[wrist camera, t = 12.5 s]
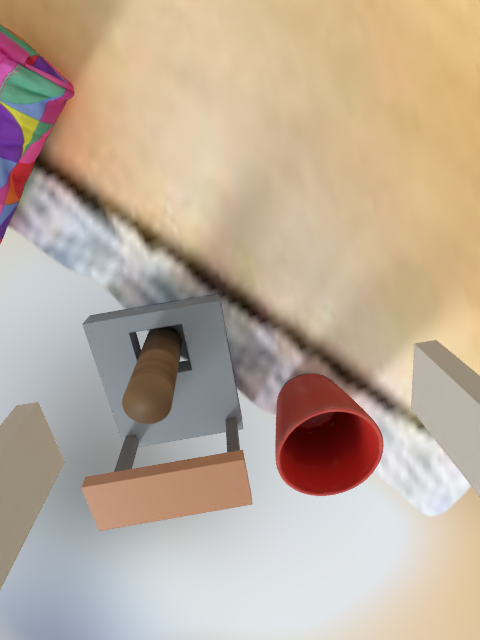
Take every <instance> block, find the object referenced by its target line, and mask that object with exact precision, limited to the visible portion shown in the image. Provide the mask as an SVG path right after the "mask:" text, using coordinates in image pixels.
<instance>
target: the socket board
mask: <svg viewBox="0 0 480 640" xmlns="http://www.w3.org/2000/svg"><path fill="white" fill-rule="evenodd" d="M178 324H182V328H183V332H184V336H185V341H186V345H187V349H188V353H189V358H190V360H188V361H182V362H179V367H178V373H177V379H176V384H175V390H174V396H173V402H172V407H171V411H170V413H169V414H168V416H167V417H166V418H165V419H163V420H162V421H160V422H157V423H154V424H142V423H139V422H136V421H134V420H132V419H131V418H129V417H128V416H127V414H126V413H125V411H124V409H123V406H122V398H123V395H124V393H125V390H126V388H127V385H128V383H129V380H130V378H131V375H132V373H133V370H134V368H135V365H136V363H137V360H138V358H139V355H140V353H141V349H140V345H139V342H138V338H137V334H136V332H137V331H142V330H149V329H155V328H160V327H166V326H172V325H178ZM83 328H84V330H85V333H86V336H87V339H88V342H89V345H90V348H91V351H92V354H93V357H94V360H95V363H96V366H97V369H98V372H99V375H100V377H101V381H102V383H103V386H104V389H105V392H106V395H107V398H108V401H109V404H110V407H111V410H112V413H113V416H114V419H115V422H116V425H117V428H118V431H119V433H120V436H121V439H122V442H123V447H122V449H121V453H120V456H119V459H118V462H117V465H116V468H115V471H114V472H112V473H107V474H101V475H95V476H89V477H86V478H85V480H84V482H83V485H82V487H81V489H82V491H83V493H84V496H85V498H86V501H87V503H88V505H89V508H90V510H91V513H92V515H93V517H94V520H95V522H96V525H97V527H98V530H99V531H102V530H108V529H113V528H120V527H125V526H131V525H136V524H142V523H148V522H153V521H160V520H165V519H171V518H177V517H183V516H188V515H194V514H199V513H205V512H211V511H217V510H222V509H229V508H234V507H240V506H245V505H252V497H251V491H250V486H249V480H248V475H247V469H246V465H245V459H244V454H243V450H240V447H239V437H238V430H240V429H243V423H242V416H241V410H240V404H239V399H238V393H237V388H236V383H235V377H234V372H233V366H232V361H231V355H230V350H229V345H228V339H227V334H226V328H225V323H224V317H223V312H222V307H221V301H220V296H219V294H214V295H208V296H202V297H196V298H190V299H184V300H179V301H173V302H167V303H161V304H155V305H149V306H143V307H137V308H131V309H125V310H119V311H114V312H108V313H102V314H96V315H90V316H89V317H88V318H87V320H86V321H85V322H84V323H83ZM222 432H226V437H227V453H222V454H216V455H210V456H205V457H199V458H193V459H187V460H182V461H176V462H170V463H164V464H159V465H153V466H147V467H141V468H136V469H132V466H133V462H134V458H135V455H136V451H137V448H138V447H141V446H147V445H153V444H159V443H164V442H170V441H176V440H182V439H188V438H193V437H199V436H205V435H211V434H217V433H222Z"/></svg>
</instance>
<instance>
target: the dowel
mask: <svg viewBox="0 0 480 640" xmlns="http://www.w3.org/2000/svg"><path fill="white" fill-rule="evenodd" d="M181 350H182V337H181V335H180V333H179V332H178V331H177V330H176V329H174V328H172V327H170V326H166V327H160V328H155V329H152V330H151V331H150V332H149V333H148V335H147V338H146V340H145V343H144V345H143V348H142V350H141V353H140V355H139V358H138V360H137V363H136V365H135V368H134V370H133V373H132V375H131V378H130V380H129V383H128V385H127V388H126V390H125V393H124V395H123V398H122V406H123V409H124V411H125V413H126V414H127V416H128V417H129V418H131V419H132V420H134V421H136V422H139V423H142V424H154V423H157V422H160V421H162V420H163V419H165V418H166V417H167V416H168V414H169V413H170V411H171V407H172V402H173V396H174V390H175V384H176V379H177V373H178V367H179V360H180V355H181Z"/></svg>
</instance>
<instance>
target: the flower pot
mask: <svg viewBox="0 0 480 640" xmlns="http://www.w3.org/2000/svg"><path fill="white" fill-rule="evenodd" d="M382 453H383V437H382V434H381V431H380V429H379V427H378V426H377V424H376V423H375V422H374V420H373V419H372V418H371V417H370V416H369V415H368V414H367V413H366V412H365V411H364V410H363V409H362V408H361V407H360V406H359V405H358V404H357V403H356V402H355V401H354V400H353V399H352V398H351V397H350V396H349V395H347V394H346V393H345V392H344V391H343V390H342V389H341V388H340V387H338V386H337V385H336V384H335V383H334V382H332V381H331V380H330V379H328V378H327V377H325V376H322V375H319V374H304V375H300V376H298V377H295V378H293V379H292V380H290V381H289V382H288V383H287V384H286V385H285V386H284V387H283V388H282V390H281V391H280V393H279V396H278V399H277V414H276V465H277V469H278V471H279V473H280V476H281V477H282V479H283V480H284V481H285V482H286V483H287V484H288V485H289V486H290V487H292V488H293V489H295V490H297V491H299V492H301V493H305V494H309V495H315V496H327V495H334V494H338V493H342V492H345V491H348V490H350V489H352V488H354V487H356V486H358V485H359V484H361V483H362V482H364V481H365V480H366V479H367V478H368V477H369V476H370V475H371V474H372V473H373V471H374V470H375V469H376V467H377V465H378V464H379V462H380V459H381V457H382Z"/></svg>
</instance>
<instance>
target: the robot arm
mask: <svg viewBox="0 0 480 640" xmlns="http://www.w3.org/2000/svg"><path fill="white" fill-rule="evenodd" d="M411 409H412V410H413V412H414V413H415V414H416V415H417V417H418V418H419V419H420V421H421V422H422V423H423V424H424V426H425V427H426V428H427V430H428V431H429V432H430V433H431V435H432V436H433V437H434V439H435V440H436V441H437V442H438V444H439V445H440V446H441V448H442V449H443V450H444V451H445V453H446V454H447V455H448V457H449V458H450V459H451V460H452V462H453V463H454V464H455V465H456V467H457V468H458V469H459V471H460V472H461V473H462V474H463V476H464V477H465V478H466V480H467V481H468V482H469V483H470V485H471V486H472V487H473V489H474V490H475V491H476V492H477V494H478V495H479V496H480V376H479V375H478V374H477V373H476V372H474V371H473V370H472V369H471V368H470V367H468V366H467V365H466V364H465V363H464V362H462V361H461V360H460V359H459V358H457V357H456V356H455V355H454V354H453V353H451V352H450V351H449V350H448V349H446V348H445V347H444V346H443V345H442V344H440V343H439V342H438V341H437V340H434V341H428V342H421V343H415V344H414V360H413V381H412V402H411ZM63 465H64V460H63V458H62V455H61V453H60V451H59V448H58V446H57V444H56V441H55V439H54V437H53V435H52V432H51V430H50V428H49V426H48V423H47V421H46V419H45V416H44V414H43V412H42V409H41V407H40V405H39V403H38V402H36V403H30V404H23V405H17V406H16V407H15V408H14V409H13V411H12V412H11V413H10V414H9V415H8V417H7V418H6V419H5V420H4V421H3V423H2V424H1V425H0V590H1V588H2V586H3V584H4V582H5V580H6V578H7V576H8V574H9V571H10V570H11V568H12V566H13V564H14V562H15V560H16V558H17V556H18V554H19V552H20V550H21V548H22V546H23V544H24V542H25V540H26V538H27V536H28V534H29V532H30V530H31V528H32V526H33V524H34V522H35V520H36V518H37V516H38V514H39V512H40V510H41V508H42V506H43V504H44V502H45V500H46V498H47V496H48V494H49V492H50V490H51V488H52V486H53V484H54V482H55V481H56V479H57V477H58V475H59V473H60V471H61V468H62V466H63Z"/></svg>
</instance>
